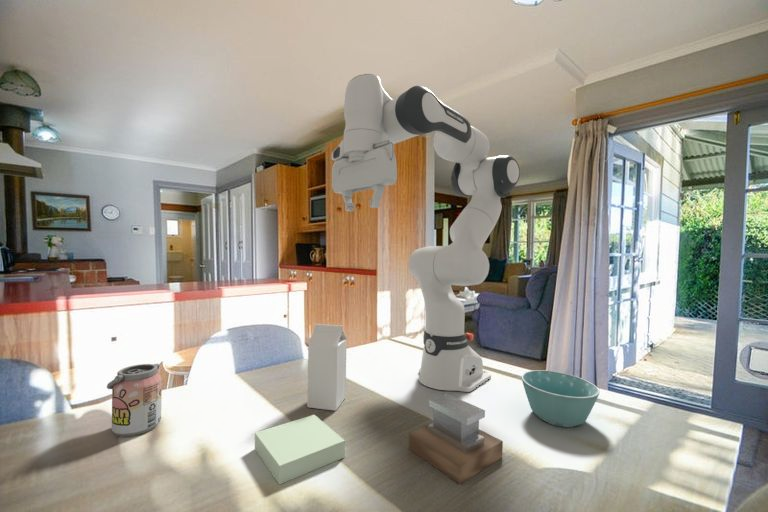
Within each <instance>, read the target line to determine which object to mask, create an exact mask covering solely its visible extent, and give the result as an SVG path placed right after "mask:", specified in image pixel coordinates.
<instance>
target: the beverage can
mask: <svg viewBox="0 0 768 512" xmlns="http://www.w3.org/2000/svg"><path fill="white" fill-rule="evenodd" d="M159 368H160V364H159V363H153V364H152V363H144V364H143V363H142V364H134V365H131V366H126V367H124V368H122V369H120V370H118V371H117V373H116V376H115V377H114V379H112V380H111V381H110V382H109V383H107V385H106V389H108V390H111V396H112V397H111V430H112V431H111V432H112V433H113V434H114V435H116V436H117V437H121V438H122V437H123V438H127V437H136V436H139V435H144V434H146V433H148V432H150V431H152V430H153V429H155V428H156V427H157V426H158V425H159V424H160V423H161V420H162V388H163V387H162V386H163V385H162V381H163V378H162V376H161V375H160V373H158V370H159Z"/></svg>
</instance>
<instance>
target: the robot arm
mask: <svg viewBox="0 0 768 512" xmlns="http://www.w3.org/2000/svg"><path fill="white" fill-rule="evenodd" d="M343 105H344V106H343V107H344V108H343V112H344V113H343V118H344V122H345V127H344V130H343V139H342V140H341V141H340V143H339V144H338V145H337V147H336V148H335V149H334V150H333V151H332V152H331V160H332V161H333V164H332V167H331V189H332V190H333V193H335V194H339V195H341V196H342V199H343V202H344V210H345V211H346V212H354V211H355V204H356V203H353V199H352V198H353V194H354V193H357V192H363V191H369V190H372V191H373V194H372V197H371V198H370V199H369V207H370V209H371V208H372V209H378V208H380V207H381V199H382V197H383V195H384V193H385V187H387V186H392V185H395V184H396V182H397V180H398V167H397V166H398V165H397V158H396V154H395V153H396V152H395V144H398V143H401V142H404V141H406V140H409V139H412V138H415V137H417V136H421V135H426V134H428V133H432V132H434V137H433V148H434V151H435V153H436V155H437V156H438V157H440V158H442V160H446V161H448V162H452V163H454V165H453V168H452V171H451V176H450V185H451V188H452V190H453V191H454V193H455V194H456V195H459V196H464V197H469V196H471V199H470V201H469V203H468V204H467V205H466V206H465V207H464V208H463V209H462V210H461V212H460V213H459V214H458V216H457V217H456V219H455V220H454V222H453V223H452V225H450V227H449V237H450V240H451V243H450V244H448V245H428V246H423V247H420V248H417V249H414V251H413V252H412V253H411V254H410V256H409V260H408V269H409V272H410V275H412V277H413V278H414V279H415V280H416V281H417V283H418V285H419V288H420V290H421V293H422V296H423V301H424V309H425V312H424V313H425V329H424V331H423V337H422V338H423V349H422V355H421V364H420V368H419V369H418V381H419V382H420V384H422V385H424V386H425V387H428V388H431V389H435V390H440V391H450V392H451V391H455V392H457V391H459V392H463V393H464V392H465V393H470V392H472V391H473V390H476V389H477V388H478V387H479V385H480V386H481V385H483V384H484V383H486V382H487V381H489V380H490V379H491V378H492V375H491V374H490V373H489V372H488V371H486V370H484V367H483V366H484V365H483V359H482V357H481V355H480V354H478V353H477V352H476V351H475V350H474V349H472V347H471V346H470V345H469V342H468V340H469V341H473V340H474V337H475V335H474V333H469V332H466V333H465V323H466V322H465V317H466V315H465V314H466V312H465V311H466V309H465V305H464V303H463V302H462V301H461V300H460V299H459V298H457V296H456V295H455V293H454V291H453V288H452V286H458V287H459V286H460V287H467V286H468V287H470V286H475V285H476V286H478V285H480V284H482V283H483V282H484V281H486V278H488V275H489V271H490V261H489V258H488V255H487V254H486V253H485V252H484V250H483V247H484V245H485V243H486V241H487V239H488V238H489V236H490V234H491V233H492V231H493V230H494V228H495V226H496V225H497V223H498V220H499V218H500V216H501V212H502V207H503V205H502V201H501V198H506V197H508V196H510V194H511V192H512V191H513V189H514V188H515V187H516V185H517V184H518V182H519V179H520V175H521V170H520V166H519V163H518V161H517V159H515V157H514V156H511V155H504V154H503V155H501V154H500V155H498V156H491V157H488V155H489V151H490V148H491V146H490V145H491V144H490V141H489V138H488V136H487V135H486V134H485V133H484V132H482V131H480V129H478V128H476V127H474V126H472V125H471V123H470V121H469V120H468V118H466V117H465V116H464V115H463V114H461V113H460V112H458V111H456V110H454V109H453V108H451V107H449V106H448V105H446V104H445V103H444V102H443V101H441V100H440V99H439V98H438V97H437V96H436V95H435V94H434V93H433V92H432V90H430V89H428V88H427V87H425V86H422V85H413V86H412V87H410V88H408V89H407V90H406V91H404V92H402V93H401V94H400V95H397V96H395V97H394V98H392V97H390V94H388V93H387V92H386V91H385V89H384V88H383V85H382V81H381V78H380V77H379V76H378V75H375V74H374V73H373V74H372V73H364V74H359V75H357V76H354V77H353V78H351V79H350V80H349V81H348V82H347V86H346V89H345V94H344V104H343ZM488 379H489V380H488ZM485 381H486V382H485ZM482 383H483V384H482ZM476 387H477V388H476Z"/></svg>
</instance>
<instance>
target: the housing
mask: <svg viewBox="0 0 768 512" xmlns="http://www.w3.org/2000/svg"><path fill="white" fill-rule="evenodd" d="M428 407H430V408H432V409H433V410H432V411H433V412H432V413H433V414H432V422H431V423H429V424H428V425H427V426H428V431H429V432H431V433H432V434H434V435H436V436H438V437H439V438H441V439H443V440H444V441H446V442H448V443H449V444H451V445H453V446H454V447H456V448H458V449H459V450H461V451H463V452H465V453H466V454H467V453H468V452H470V451H472V450H474V449H476V448H477V447H479V446H481V445H483V444H484V437H483V436H481V435H479V429H480V420H482V419H485V417H486V410H485V409H483V408H480V407H478V406H476V405H474V404H471V403H469V402H467V401H464V400H463V399H460V398H458V397H456V396H454V395H452V394H450V393H444V394H441V395H438V396H435V397H433V398H430V399H428Z"/></svg>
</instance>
